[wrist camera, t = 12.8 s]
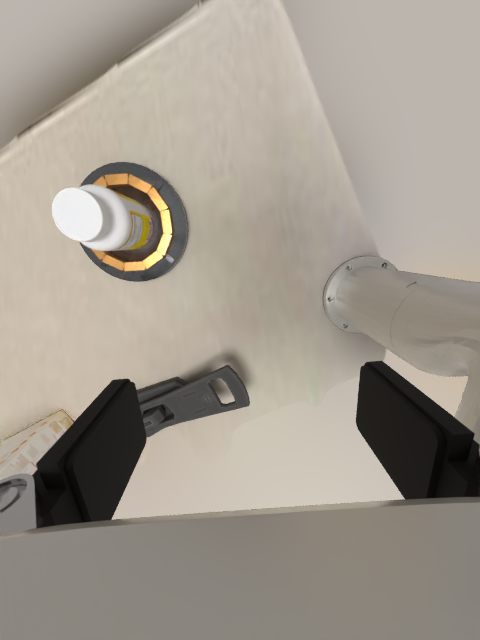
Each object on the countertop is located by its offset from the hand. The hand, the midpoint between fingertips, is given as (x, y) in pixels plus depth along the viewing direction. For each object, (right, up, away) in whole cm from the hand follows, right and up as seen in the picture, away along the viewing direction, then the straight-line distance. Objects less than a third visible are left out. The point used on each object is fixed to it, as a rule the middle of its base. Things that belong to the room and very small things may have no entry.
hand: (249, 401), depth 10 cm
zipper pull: (-11, -10, +35) cm, 38 cm away
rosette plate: (-16, +17, +26) cm, 35 cm away
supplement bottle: (-16, +17, +25) cm, 34 cm away
